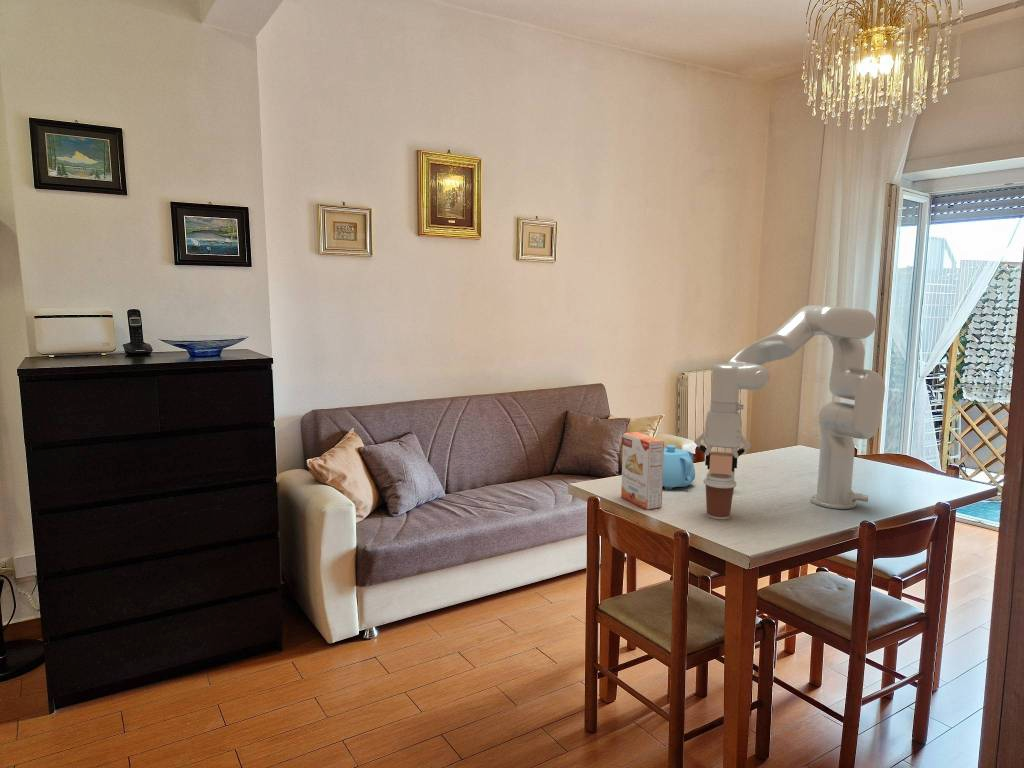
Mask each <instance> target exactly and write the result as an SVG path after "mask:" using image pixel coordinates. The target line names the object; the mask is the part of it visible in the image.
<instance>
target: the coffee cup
mask: <svg viewBox="0 0 1024 768" xmlns="http://www.w3.org/2000/svg"><path fill="white" fill-rule="evenodd" d="M706 477H707V478H706ZM706 477H705V478H704V479H703V484H704V485H705V501H706V502H705V505H706V516H707V517H708V518H709V519H713V520H728V519H730V517H731V510H732V502H733V496H734V489H735V487H737V484H738V483H737V482H736V481H735V479H734V480H733V477H732V476H731V475H727V474H717V473H709V474H708V476H707V475H706Z"/></svg>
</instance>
